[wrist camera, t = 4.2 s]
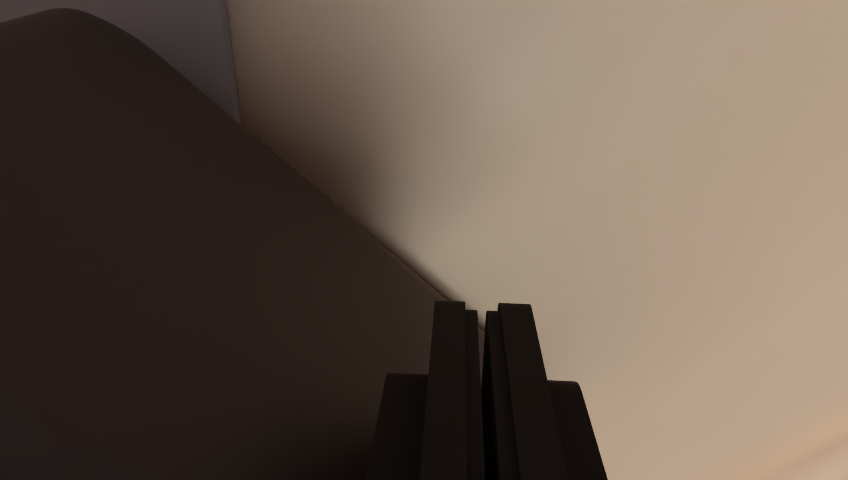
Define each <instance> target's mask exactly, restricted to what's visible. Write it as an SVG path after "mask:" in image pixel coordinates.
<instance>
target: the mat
mask: <svg viewBox="0 0 848 480" xmlns="http://www.w3.org/2000/svg"><path fill="white" fill-rule="evenodd" d="M55 8H71V9H77V10H81V11H84V12H87V13H90V14H92V15H94V16H97V17H99V18H101V19H103V20H106V21H108V22H110V23H112V24H114V25H115V26H117V27H119V28H121V29H123V30H124V31H126V32H128V33H129V34H131V35H132V36H134V37H136V38H137V39H139V40H140V41H141V42H143V43H144V44H146V45H147V46H148V47H150V48H151V49H152V50H153V51H155V52H156V53H157V54H158V55H159V56H161V57H162V58H163V59H164V60H165V61H167V62H168V63H169V64H170V65H171V66H172V67H174V68H175V69H176V70H177V71H178V72H179V73H181V74H182V75H183V76H184V77H185V78H186V79H188V80H189V81H190V82H191V83H192V84H194V85H195V86H196V87H197V88H198V89H199V90H201V91H202V92H203V93H204V94H205V95H206V96H208V97H209V98H210V99H211V100H212V101H213V102H215V103H216V104H217V105H218V106H219V107H221V108H222V109H223V110H224V111H225V112H226V113H228V114H229V115H230V116H231V117H232V118H233V119H235V120H236V121H237V122H238V123H239V124H240V125H241V118H240V110H239V101H238V93H237V85H236V77H235V69H234V61H233V53H232V45H231V37H230V29H229V21H228V12H227V4H226V0H0V22H4V21H8V20H12V19H15V18H19V17H23V16H27V15H30V14H34V13H38V12H41V11H45V10H49V9H55Z"/></svg>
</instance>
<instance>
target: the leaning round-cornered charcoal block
mask: <svg viewBox="0 0 848 480" xmlns="http://www.w3.org/2000/svg"><path fill="white" fill-rule="evenodd" d="M435 301H447V300H446V299H445V298H444V297H442V296H441V295H440V294H439V293H438V292H437V291H435V290H434V289H433V288H432V287H431V286H430V285H428V284H427V283H426V282H425V281H424V280H422V279H421V278H420V277H419V276H418V275H417V274H415V273H414V272H413V271H412V270H411V269H410V268H408V267H407V266H406V265H405V264H404V263H403V262H401V261H400V260H399V259H398V258H397V257H395V256H394V255H393V254H392V253H391V252H390V251H388V250H387V249H386V248H385V247H384V246H383V245H381V244H380V243H379V242H378V241H377V240H376V239H374V238H373V237H372V236H371V235H370V234H368V233H367V232H366V231H365V230H364V229H363V228H361V227H360V226H359V225H358V224H357V223H356V222H354V221H353V220H352V219H351V218H350V217H349V216H347V215H346V214H345V213H344V212H343V211H341V210H340V209H339V208H338V207H337V206H336V205H334V204H333V203H332V202H331V201H330V200H329V199H327V198H326V197H325V196H324V195H323V194H322V193H320V192H319V191H318V190H317V189H316V188H314V187H313V186H312V185H311V184H310V183H309V182H307V181H306V180H305V179H304V178H303V177H302V176H300V175H299V174H298V173H297V172H296V171H295V170H293V169H292V168H291V167H290V166H289V165H287V164H286V163H285V162H284V161H283V160H282V159H280V158H279V157H278V156H277V155H276V154H275V153H273V152H272V151H271V150H270V149H269V148H268V147H266V146H265V145H264V144H263V143H262V142H260V141H259V140H258V139H257V138H256V137H255V136H253V135H252V134H251V133H250V132H249V131H248V130H246V129H245V128H244V127H243V126H242V125H240V124H239V123H238V122H237V121H236V120H235V119H233V118H232V117H231V116H230V115H229V114H228V113H226V112H225V111H224V110H223V109H222V108H221V107H219V106H218V105H217V104H216V103H215V102H213V101H212V100H211V99H210V98H209V97H208V96H206V95H205V94H204V93H203V92H202V91H201V90H199V89H198V88H197V87H196V86H195V85H194V84H192V83H191V82H190V81H189V80H188V79H186V78H185V77H184V76H183V75H182V74H181V73H179V72H178V71H177V70H176V69H175V68H174V67H172V66H171V65H170V64H169V63H168V62H167V61H165V60H164V59H163V58H162V57H161V56H159V55H158V54H157V53H156V52H155V51H153V50H152V49H151V48H150V47H148V46H147V45H146V44H144V43H143V42H141V41H140V40H139V39H137V38H136V37H134V36H132V35H131V34H129V33H128V32H126V31H124V30H123V29H121V28H119V27H117V26H115V25H114V24H112V23H110V22H108V21H106V20H103V19H101V18H99V17H97V16H94V15H92V14H90V13H87V12H84V11H81V10H77V9H71V8H55V9H49V10H45V11H41V12H38V13H34V14H30V15H27V16H23V17H19V18H15V19H12V20H8V21H4V22H0V480H366V475H367V470H368V465H369V460H370V455H371V450H372V444H373V439H374V434H375V429H376V424H377V419H378V413H379V408H380V403H381V398H382V393H383V388H384V383H385V378H386V375H387V373H404V374H425V375H428V373H429V362H430V350H431V338H432V327H433V315H434V303H435ZM478 337H479V358H480V379H481V382H482V367H483V352H484V337H485V332H484V331H482V330H481V329H480V328H479V327H478Z"/></svg>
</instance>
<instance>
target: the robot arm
mask: <svg viewBox="0 0 848 480" xmlns="http://www.w3.org/2000/svg"><path fill="white" fill-rule="evenodd" d="M366 480H608V479H607V476H606V472H605V469H604V466H603V462H602V459H601V455H600V452H599V449H598V445H597V442H596V439H595V435H594V432H593V428H592V425H591V422H590V418H589V415H588V411H587V408H586V405H585V401H584V398H583V394H582V391H581V388H580V386H579V384H578V383H577V382H573V381H552V380H547V377H546V372H545V368H544V363H543V358H542V354H541V349H540V345H539V340H538V335H537V331H536V326H535V321H534V317H533V312H532V308H531V305H530V304H510V303H499V305H498V311H487V312H486V322H485V337H484V352H483V367H482V382H481V379H480V358H479V337H478V316H477V310H465V302H460V301H435V303H434V315H433V327H432V338H431V350H430V362H429V373H428V375H425V374H404V373H387V375H386V378H385V383H384V388H383V393H382V398H381V403H380V408H379V413H378V419H377V424H376V429H375V434H374V439H373V444H372V450H371V455H370V460H369V465H368V470H367V475H366Z"/></svg>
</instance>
